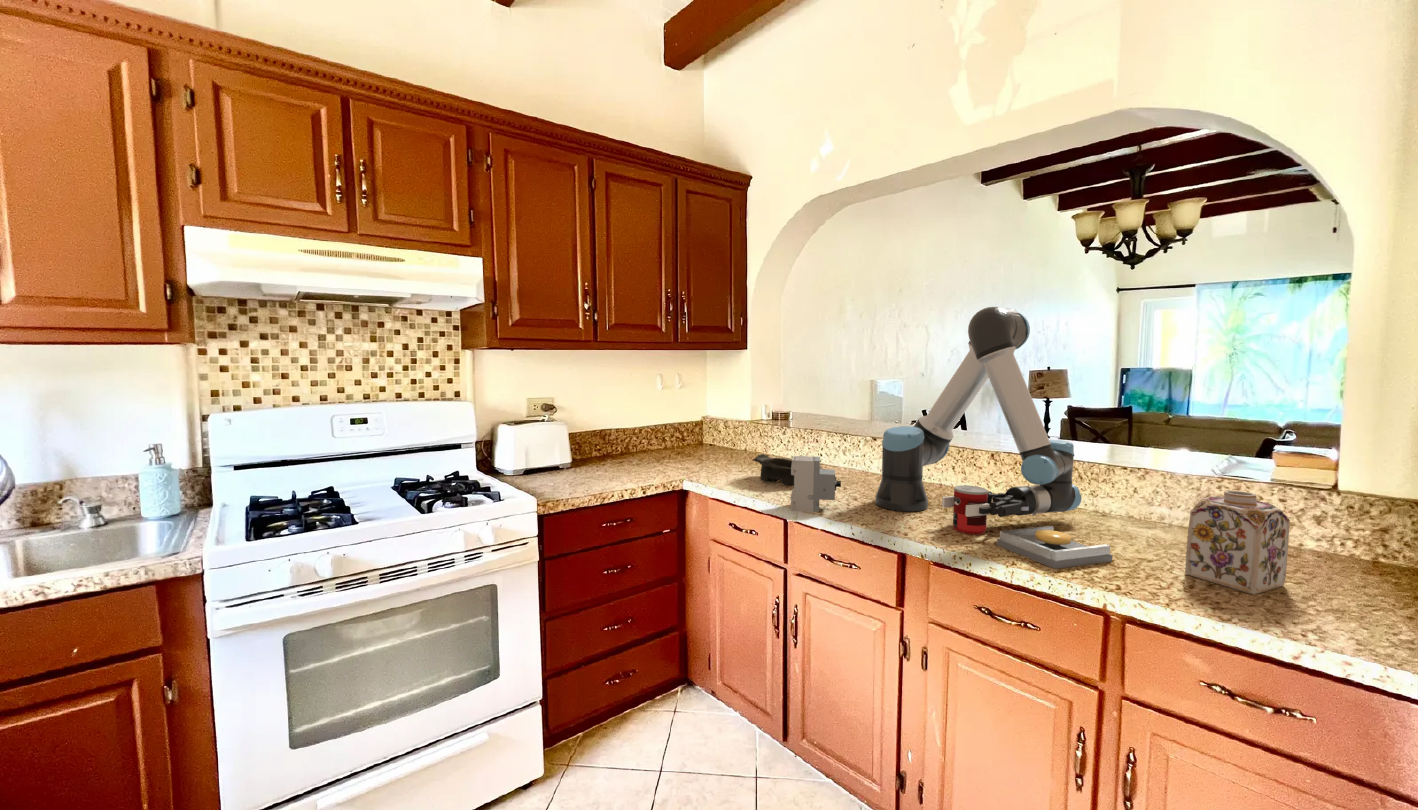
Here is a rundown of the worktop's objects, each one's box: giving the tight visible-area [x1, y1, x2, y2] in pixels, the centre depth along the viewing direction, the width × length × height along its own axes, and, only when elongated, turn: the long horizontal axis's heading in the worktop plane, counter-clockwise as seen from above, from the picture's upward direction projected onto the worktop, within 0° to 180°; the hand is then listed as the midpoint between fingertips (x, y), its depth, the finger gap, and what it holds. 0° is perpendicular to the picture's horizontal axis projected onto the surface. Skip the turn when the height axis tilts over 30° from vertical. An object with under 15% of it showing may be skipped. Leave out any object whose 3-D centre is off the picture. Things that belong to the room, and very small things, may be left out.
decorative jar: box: [1184, 490, 1291, 595], centre depth 114 cm, size 12×12×18 cm
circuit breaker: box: [790, 455, 842, 513], centre depth 168 cm, size 8×14×15 cm, turn 78°
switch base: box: [996, 525, 1113, 570], centre depth 130 cm, size 16×16×4 cm
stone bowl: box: [751, 454, 823, 487], centre depth 206 cm, size 25×25×9 cm
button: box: [1035, 530, 1072, 547], centre depth 130 cm, size 7×7×2 cm
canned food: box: [952, 484, 989, 536], centre depth 147 cm, size 8×8×11 cm
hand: (954, 506), depth 145 cm, fingers closed on canned food, 8 cm apart
